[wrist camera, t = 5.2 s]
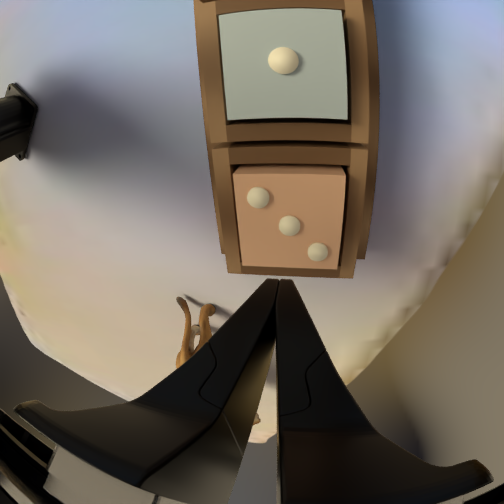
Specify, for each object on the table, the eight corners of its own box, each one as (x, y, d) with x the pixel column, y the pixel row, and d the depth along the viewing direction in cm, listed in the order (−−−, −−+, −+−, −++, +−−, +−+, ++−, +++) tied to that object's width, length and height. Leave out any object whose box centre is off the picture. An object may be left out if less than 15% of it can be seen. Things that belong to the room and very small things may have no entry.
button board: (361, 247, 19) (372, 290, 15) (226, 242, 21) (207, 283, 17) (350, -69, 6) (360, -103, 2) (198, -61, 8) (170, -89, 4)
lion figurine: (273, 374, 30) (261, 444, 22) (235, 379, 32) (219, 442, 25) (200, 285, 24) (161, 370, 16) (159, 299, 26) (118, 372, 18)
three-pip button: (334, 248, 15) (337, 271, 14) (249, 245, 16) (241, 267, 15) (340, 164, 13) (346, 177, 11) (241, 163, 14) (231, 175, 12)
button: (340, 115, 11) (348, 120, 10) (237, 116, 12) (226, 120, 11) (335, 21, 9) (341, 8, 7) (230, 24, 10) (217, 14, 8)
